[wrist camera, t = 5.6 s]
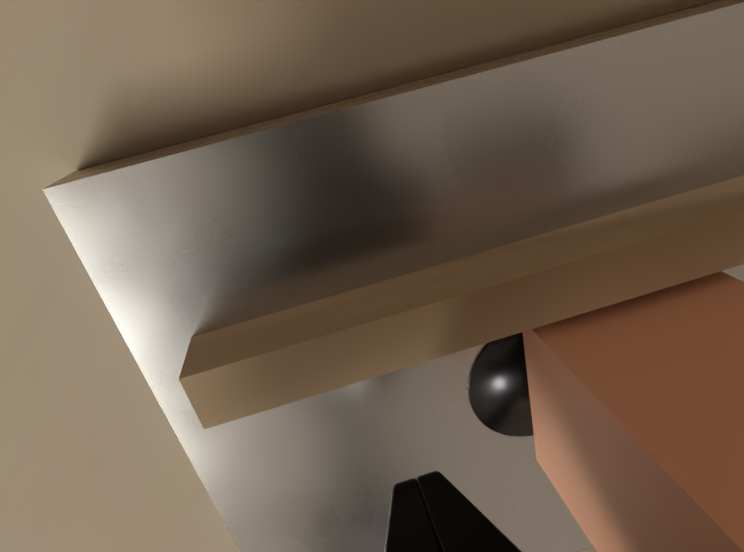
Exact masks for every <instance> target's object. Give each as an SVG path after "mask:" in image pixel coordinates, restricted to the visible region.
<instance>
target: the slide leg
mask: <svg viewBox="0 0 744 552" xmlns="http://www.w3.org/2000/svg"><path fill="white" fill-rule="evenodd" d="M522 333H523V342H524V351H525V360H526V369H527V378H528V387H529V396H530V405H531V415H532V424H533V433H534V442H535V451H536V460H537V461H538V463H539V464H540V466H541V467H542V469H543V470H544V472H545V473H546V475H547V477H548V478H549V480H550V481H551V483H552V484H553V486H554V487H555V489H556V490H557V492H558V493H559V495H560V496H561V498H562V499H563V501H564V503H565V504H566V506H567V507H568V509H569V510H570V512H571V513H572V515H573V516H574V518H575V519H576V521H577V522H578V524H579V525H580V527H581V529H582V530H583V532H584V533H585V535H586V536H587V538H588V539H589V541H590V542H591V544H592V545H593V547H594V548H595V550H596V551H597V552H744V282H743V281H741V280H739V279H737V278H734V277H732V276H730V275H728V274H726V273H724V272H722V271H720V272H717V273H713V274H710V275H707V276H703V277H700V278H697V279H694V280H690V281H687V282H684V283H681V284H677V285H674V286H671V287H668V288H664V289H661V290H658V291H655V292H651V293H648V294H645V295H641V296H638V297H635V298H632V299H628V300H625V301H622V302H619V303H615V304H612V305H609V306H606V307H602V308H599V309H596V310H593V311H589V312H586V313H583V314H580V315H576V316H573V317H570V318H566V319H563V320H560V321H557V322H553V323H550V324H547V325H544V326H540V327H537V328H534V329H531V330H527V331H524V332H522Z"/></svg>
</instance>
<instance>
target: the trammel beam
mask: <svg viewBox="0 0 744 552" xmlns="http://www.w3.org/2000/svg"><path fill="white" fill-rule="evenodd" d="M743 264H744V175H743V176H739V177H736V178H733V179H729V180H726V181H722V182H719V183H716V184H712V185H709V186H705V187H702V188H698V189H695V190H692V191H688V192H685V193H681V194H678V195H675V196H671V197H668V198H664V199H661V200H657V201H654V202H651V203H647V204H644V205H640V206H637V207H634V208H630V209H627V210H623V211H620V212H617V213H613V214H610V215H606V216H603V217H599V218H596V219H593V220H589V221H586V222H582V223H579V224H576V225H572V226H569V227H565V228H562V229H559V230H555V231H552V232H548V233H545V234H541V235H538V236H535V237H531V238H528V239H524V240H521V241H518V242H514V243H511V244H507V245H504V246H501V247H497V248H494V249H490V250H487V251H483V252H480V253H477V254H473V255H470V256H466V257H463V258H460V259H456V260H453V261H449V262H446V263H442V264H439V265H436V266H432V267H429V268H425V269H422V270H419V271H415V272H412V273H408V274H405V275H402V276H398V277H395V278H391V279H388V280H384V281H381V282H378V283H374V284H371V285H367V286H364V287H361V288H357V289H354V290H350V291H347V292H344V293H340V294H337V295H333V296H330V297H326V298H323V299H320V300H316V301H313V302H309V303H306V304H303V305H299V306H296V307H292V308H289V309H286V310H282V311H279V312H275V313H272V314H268V315H265V316H262V317H258V318H255V319H251V320H248V321H245V322H241V323H238V324H234V325H231V326H227V327H224V328H221V329H217V330H214V331H210V332H207V333H204V334H200V335H197V336H193V337H191V340H190V343H189V346H188V350H187V353H186V356H185V360H184V363H183V366H182V370H181V373H180V376H179V381H180V383H181V385H182V387H183V389H184V391H185V393H186V395H187V397H188V399H189V401H190V403H191V405H192V407H193V409H194V411H195V413H196V414H197V416H198V418H199V420H200V422H201V424H202V426H203V428H204V429H208V428H211V427H214V426H217V425H221V424H224V423H227V422H230V421H234V420H237V419H240V418H243V417H247V416H250V415H253V414H257V413H260V412H263V411H266V410H270V409H273V408H276V407H279V406H283V405H286V404H289V403H292V402H296V401H299V400H302V399H305V398H309V397H312V396H315V395H319V394H322V393H325V392H328V391H332V390H335V389H338V388H341V387H345V386H348V385H351V384H354V383H358V382H361V381H364V380H367V379H371V378H374V377H377V376H380V375H384V374H387V373H390V372H394V371H397V370H400V369H403V368H407V367H410V366H413V365H416V364H420V363H423V362H426V361H429V360H433V359H436V358H439V357H442V356H446V355H449V354H452V353H456V352H459V351H462V350H465V349H469V348H472V347H475V346H478V345H482V344H485V343H488V342H491V341H495V340H498V339H501V338H504V337H508V336H511V335H514V334H518V333H521V332H524V331H527V330H531V329H534V328H537V327H540V326H544V325H547V324H550V323H553V322H557V321H560V320H563V319H566V318H570V317H573V316H576V315H580V314H583V313H586V312H589V311H593V310H596V309H599V308H602V307H606V306H609V305H612V304H615V303H619V302H622V301H625V300H628V299H632V298H635V297H638V296H641V295H645V294H648V293H651V292H655V291H658V290H661V289H664V288H668V287H671V286H674V285H677V284H681V283H684V282H687V281H690V280H694V279H697V278H700V277H703V276H707V275H710V274H713V273H717V272H720V271H723V270H726V269H730V268H733V267H736V266H739V265H743Z"/></svg>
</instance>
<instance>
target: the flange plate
mask: <svg viewBox="0 0 744 552" xmlns="http://www.w3.org/2000/svg"><path fill="white" fill-rule="evenodd" d="M743 175H744V0H719V1H715V2H712V3H708V4H704V5H700V6H697V7H693V8H689V9H685V10H681V11H678V12H674V13H670V14H666V15H663V16H659V17H655V18H651V19H648V20H644V21H640V22H636V23H632V24H629V25H625V26H621V27H617V28H614V29H610V30H606V31H602V32H599V33H595V34H591V35H587V36H584V37H580V38H576V39H572V40H568V41H565V42H561V43H557V44H553V45H550V46H546V47H542V48H538V49H535V50H531V51H527V52H523V53H519V54H516V55H512V56H508V57H504V58H501V59H497V60H493V61H489V62H486V63H482V64H478V65H474V66H471V67H467V68H463V69H459V70H455V71H452V72H448V73H444V74H440V75H437V76H433V77H429V78H425V79H422V80H418V81H414V82H410V83H406V84H403V85H399V86H395V87H391V88H388V89H384V90H380V91H376V92H373V93H369V94H365V95H361V96H358V97H354V98H350V99H346V100H342V101H339V102H335V103H331V104H327V105H324V106H320V107H316V108H312V109H309V110H305V111H301V112H297V113H293V114H290V115H286V116H282V117H278V118H275V119H271V120H267V121H263V122H260V123H256V124H252V125H248V126H245V127H241V128H237V129H233V130H229V131H226V132H222V133H218V134H214V135H211V136H207V137H203V138H199V139H196V140H192V141H188V142H184V143H180V144H177V145H173V146H169V147H165V148H162V149H158V150H154V151H150V152H147V153H143V154H139V155H135V156H132V157H128V158H124V159H120V160H116V161H113V162H109V163H105V164H101V165H98V166H94V167H90V168H86V169H83V170H79V171H75V172H73V173H71V174H69V175H67V176H66V177H64V178H62V179H60V180H58V181H57V182H55V183H53V184H51V185H49V186H48V187H46V188H44V189H42V190H43V191H44V193H45V195H46V197H47V199H48V201H49V202H50V204H51V206H52V208H53V210H54V212H55V213H56V215H57V217H58V219H59V221H60V223H61V224H62V226H63V228H64V230H65V232H66V234H67V235H68V237H69V239H70V241H71V243H72V245H73V246H74V248H75V250H76V252H77V254H78V256H79V257H80V259H81V261H82V263H83V265H84V267H85V268H86V270H87V272H88V274H89V276H90V278H91V279H92V281H93V283H94V285H95V287H96V289H97V290H98V292H99V294H100V296H101V298H102V300H103V301H104V303H105V305H106V307H107V309H108V311H109V312H110V314H111V316H112V318H113V320H114V322H115V323H116V325H117V327H118V329H119V331H120V333H121V334H122V336H123V338H124V340H125V342H126V344H127V345H128V347H129V349H130V351H131V353H132V355H133V356H134V358H135V360H136V362H137V364H138V365H139V367H140V369H141V371H142V373H143V375H144V376H145V378H146V380H147V382H148V384H149V386H150V387H151V389H152V391H153V393H154V395H155V397H156V398H157V400H158V402H159V404H160V406H161V408H162V409H163V411H164V413H165V415H166V417H167V419H168V420H169V422H170V424H171V426H172V428H173V430H174V431H175V433H176V435H177V437H178V439H179V441H180V442H181V444H182V446H183V448H184V450H185V452H186V453H187V455H188V457H189V459H190V461H191V463H192V464H193V466H194V468H195V470H196V472H197V474H198V475H199V477H200V479H201V481H202V483H203V485H204V486H205V488H206V490H207V492H208V494H209V496H210V497H211V499H212V501H213V503H214V505H215V507H216V508H217V510H218V512H219V514H220V516H221V518H222V519H223V521H224V523H225V525H226V527H227V529H228V530H229V532H230V534H231V536H232V538H233V540H234V541H235V543H236V545H237V547H238V549H239V551H240V552H384V548H385V541H386V534H387V526H388V519H389V511H390V504H391V496H392V489H393V486H394V485H395V484H396V483H399V482H402V481H405V480H408V479H411V478H415V479H416V478H417V477H418V476H421V475H424V474H427V473H430V472H433V471H438V472H440V473H441V474H443V475H444V476H445V477H446V478H447V479H448V480H449V481H450V482H451V483H452V484H453V485H454V486H455V487H456V488H457V489H458V490H459V491H460V492H461V493H462V494H463V495H464V496H465V497H466V498H467V499H468V500H469V501H470V502H471V503H472V504H473V505H475V506H476V507H477V508H478V509H479V510H480V511H481V512H482V513H483V514H484V515H485V516H486V517H487V518H488V519H489V520H490V521H491V522H492V523H493V524H494V525H495V526H496V527H497V528H498V529H499V530H500V531H501V532H502V533H503V534H504V535H505V536H506V537H507V538H508V539H509V540H511V541H512V542H513V543H514V544H515V545H516V546H517V547H518V548H519V549H520V550H521V551H522V552H578V551H581V550H584V549H587V548H589V547H592V546H593V545H592V544H591V542H590V541H589V539H588V538H587V536H586V535H585V533H584V532H583V530H582V529H581V527H580V525H579V524H578V522H577V521H576V519H575V518H574V516H573V515H572V513H571V512H570V510H569V509H568V507H567V506H566V504H565V503H564V501H563V499H562V498H561V496H560V495H559V493H558V492H557V490H556V489H555V487H554V486H553V484H552V483H551V481H550V480H549V478H548V477H547V475H546V473H545V472H544V470H543V469H542V467H541V466H540V464H539V463H538V461H537V460H536V451H535V442H534V433H533V424H532V415H531V405H530V396H529V387H528V378H527V369H526V360H525V351H524V342H523V333H522V332H521V333H518V334H514V335H511V336H508V337H504V338H501V339H498V340H495V341H491V342H488V343H485V344H482V345H478V346H475V347H472V348H469V349H465V350H462V351H459V352H456V353H452V354H449V355H446V356H442V357H439V358H436V359H433V360H429V361H426V362H423V363H420V364H416V365H413V366H410V367H407V368H403V369H400V370H397V371H394V372H390V373H387V374H384V375H380V376H377V377H374V378H371V379H367V380H364V381H361V382H358V383H354V384H351V385H348V386H345V387H341V388H338V389H335V390H332V391H328V392H325V393H322V394H319V395H315V396H312V397H309V398H305V399H302V400H299V401H296V402H292V403H289V404H286V405H283V406H279V407H276V408H273V409H270V410H266V411H263V412H260V413H257V414H253V415H250V416H247V417H243V418H240V419H237V420H234V421H230V422H227V423H224V424H221V425H217V426H214V427H211V428H208V429H204V428H203V426H202V424H201V422H200V420H199V418H198V416H197V414H196V413H195V411H194V409H193V407H192V405H191V403H190V401H189V399H188V397H187V395H186V393H185V391H184V389H183V387H182V385H181V383H180V381H179V376H180V373H181V370H182V366H183V363H184V360H185V356H186V353H187V350H188V346H189V343H190V340H191V337H193V336H197V335H200V334H204V333H207V332H210V331H214V330H217V329H221V328H224V327H227V326H231V325H234V324H238V323H241V322H245V321H248V320H251V319H255V318H258V317H262V316H265V315H268V314H272V313H275V312H279V311H282V310H286V309H289V308H292V307H296V306H299V305H303V304H306V303H309V302H313V301H316V300H320V299H323V298H326V297H330V296H333V295H337V294H340V293H344V292H347V291H350V290H354V289H357V288H361V287H364V286H367V285H371V284H374V283H378V282H381V281H384V280H388V279H391V278H395V277H398V276H402V275H405V274H408V273H412V272H415V271H419V270H422V269H425V268H429V267H432V266H436V265H439V264H442V263H446V262H449V261H453V260H456V259H460V258H463V257H466V256H470V255H473V254H477V253H480V252H483V251H487V250H490V249H494V248H497V247H501V246H504V245H507V244H511V243H514V242H518V241H521V240H524V239H528V238H531V237H535V236H538V235H541V234H545V233H548V232H552V231H555V230H559V229H562V228H565V227H569V226H572V225H576V224H579V223H582V222H586V221H589V220H593V219H596V218H599V217H603V216H606V215H610V214H613V213H617V212H620V211H623V210H627V209H630V208H634V207H637V206H640V205H644V204H647V203H651V202H654V201H657V200H661V199H664V198H668V197H671V196H675V195H678V194H681V193H685V192H688V191H692V190H695V189H698V188H702V187H705V186H709V185H712V184H716V183H719V182H722V181H726V180H729V179H733V178H736V177H739V176H743ZM722 272H724V273H726V274H728V275H730V276H732V277H734V278H737V279H739V280H741V281H743V282H744V264H743V265H739V266H736V267H733V268H730V269H726V270H723V271H722Z"/></svg>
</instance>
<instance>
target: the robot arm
mask: <svg viewBox="0 0 744 552" xmlns="http://www.w3.org/2000/svg"><path fill="white" fill-rule="evenodd" d="M384 552H522V551H521V550H520V549H519V548H518V547H517V546H516V545H515V544H514V543H513V542H512V541H511V540H509V539H508V538H507V537H506V536H505V535H504V534H503V533H502V532H501V531H500V530H499V529H498V528H497V527H496V526H495V525H494V524H493V523H492V522H491V521H490V520H489V519H488V518H487V517H486V516H485V515H484V514H483V513H482V512H481V511H480V510H479V509H478V508H477V507H476V506H475V505H473V504H472V503H471V502H470V501H469V500H468V499H467V498H466V497H465V496H464V495H463V494H462V493H461V492H460V491H459V490H458V489H457V488H456V487H455V486H454V485H453V484H452V483H451V482H450V481H449V480H448V479H447V478H446V477H445V476H444V475H443V474H441V473H440V472H438V471H433V472H430V473H427V474H424V475H421V476H418V477H417V478H416V479H415V478H411V479H408V480H405V481H402V482H399V483H396V484H395V485H394V486H393V489H392V496H391V504H390V511H389V519H388V526H387V534H386V541H385V548H384Z"/></svg>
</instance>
